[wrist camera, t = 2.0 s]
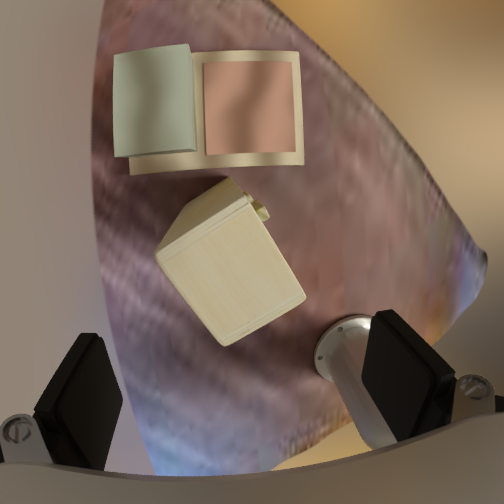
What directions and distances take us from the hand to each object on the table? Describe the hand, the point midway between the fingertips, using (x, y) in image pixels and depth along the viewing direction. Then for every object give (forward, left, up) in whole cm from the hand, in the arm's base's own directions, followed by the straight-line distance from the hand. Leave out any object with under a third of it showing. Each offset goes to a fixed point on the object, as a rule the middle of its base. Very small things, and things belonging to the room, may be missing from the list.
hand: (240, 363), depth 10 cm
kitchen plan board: (+1, -13, -30) cm, 33 cm away
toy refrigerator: (0, 0, -30) cm, 30 cm away
